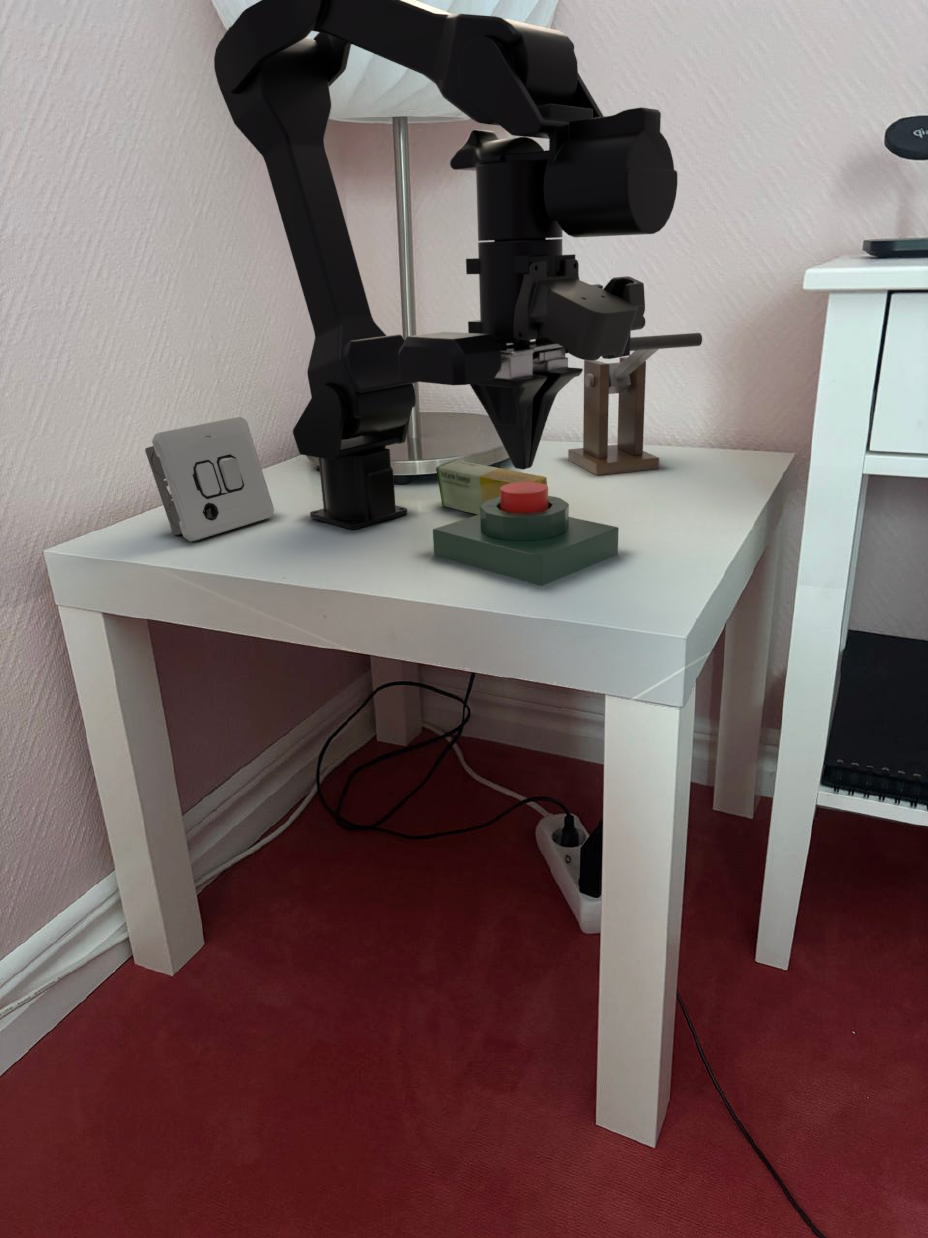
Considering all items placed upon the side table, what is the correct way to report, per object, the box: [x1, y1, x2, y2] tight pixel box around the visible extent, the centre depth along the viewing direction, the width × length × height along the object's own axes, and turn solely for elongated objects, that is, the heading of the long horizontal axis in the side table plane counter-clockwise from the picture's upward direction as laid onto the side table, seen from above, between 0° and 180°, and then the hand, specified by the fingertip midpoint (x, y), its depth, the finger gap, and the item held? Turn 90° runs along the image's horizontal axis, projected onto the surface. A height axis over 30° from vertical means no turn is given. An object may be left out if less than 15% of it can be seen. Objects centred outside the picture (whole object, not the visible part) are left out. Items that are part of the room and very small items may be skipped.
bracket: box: [567, 356, 660, 476], centre depth 95 cm, size 8×7×11 cm
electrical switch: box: [144, 416, 275, 542], centre depth 79 cm, size 9×5×9 cm, turn 141°
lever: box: [608, 332, 703, 395], centre depth 89 cm, size 12×9×2 cm
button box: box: [432, 495, 620, 587], centre depth 69 cm, size 11×9×4 cm
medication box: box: [435, 459, 548, 515], centre depth 79 cm, size 12×3×4 cm, turn 41°
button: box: [500, 482, 549, 513], centre depth 68 cm, size 4×4×2 cm
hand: (523, 468), depth 67 cm, fingers closed
